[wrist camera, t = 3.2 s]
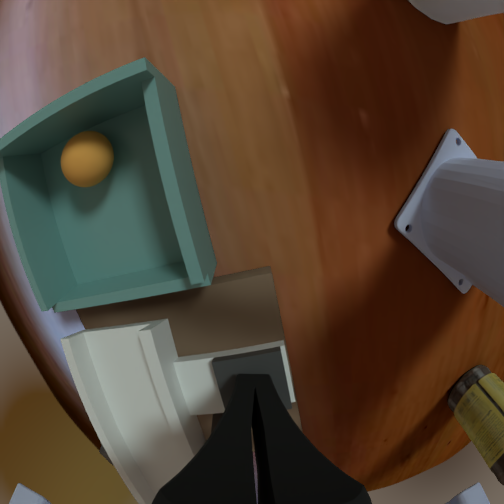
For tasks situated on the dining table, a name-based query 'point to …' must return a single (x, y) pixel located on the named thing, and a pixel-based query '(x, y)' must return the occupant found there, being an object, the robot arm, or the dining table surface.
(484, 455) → the sauce bottle
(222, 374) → the tray
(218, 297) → the stand
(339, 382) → the dining table surface
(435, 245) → the robot arm
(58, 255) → the teal open box
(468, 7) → the foam cup
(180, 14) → the dining table surface
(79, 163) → the ball
